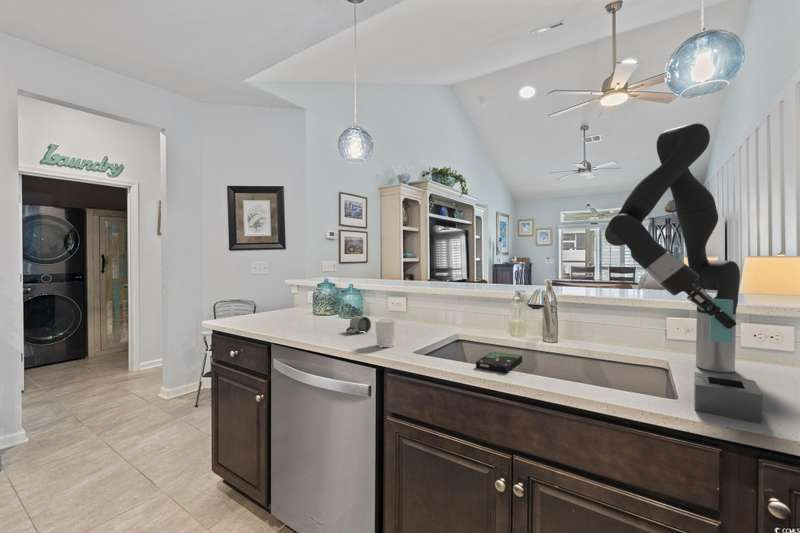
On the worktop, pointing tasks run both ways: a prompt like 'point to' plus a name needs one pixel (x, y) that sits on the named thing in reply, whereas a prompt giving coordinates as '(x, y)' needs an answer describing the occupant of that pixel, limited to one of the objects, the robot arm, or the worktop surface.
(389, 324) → the white cup
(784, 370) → the worktop surface
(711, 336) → the teal peg
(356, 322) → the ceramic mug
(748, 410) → the socket block
